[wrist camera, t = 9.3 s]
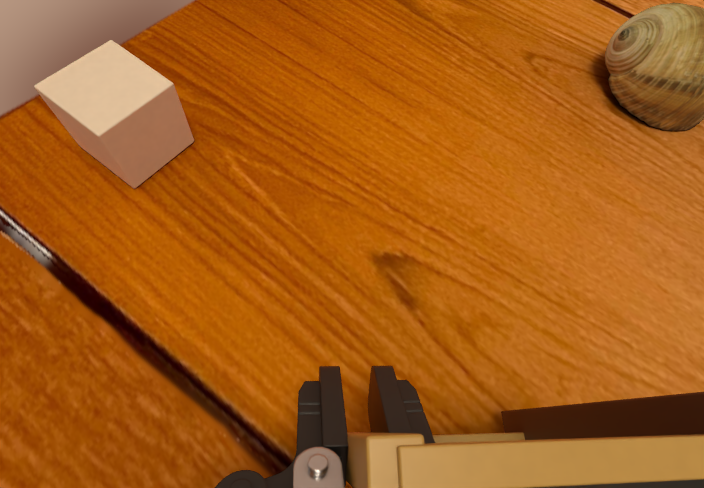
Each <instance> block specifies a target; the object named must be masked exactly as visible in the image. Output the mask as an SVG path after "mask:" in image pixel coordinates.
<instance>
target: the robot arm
mask: <svg viewBox="0 0 704 488" xmlns="http://www.w3.org/2000/svg"><path fill="white" fill-rule="evenodd" d="M368 415H369V422H370V427H371V432H373V433H414V434H421V435H423V437H424V443H425V444H429V443H435V441H434V438H433V435H432V433H431V430H430V427H429V424H428V422H427V419H426V416H425V413H424V412H423V408H422V405H421V403H420V399H419V397H418V394H417V391H416V389H415V388H414V387H413V386H412V385H411V384H410V383H409V382H408V381H407V380H397V379H396V376H395V372H394V369H393V367H392V366H372V368H371V375H370V386H369V396H368ZM347 437H348V435H347V426H346V418H345V409H344V400H343V391H342V383H341V374H340V367H339V366H320V367H319V381H305V382H304V384H303V385H302V387H301V389H300V390H299V396H298V425H297V451H296V456H295V458H294V460H293V462H292V463H291V465H290V466H289V467H288V468H287V469H285V470H284V471H282V472H281V473H279V474H276V475H274V476H271V477H268V478H265V479H264V478H263V477H262V476H261V475H260V474H259V473H257V472H254V471H250V470H241V471H237V472H234V473H232V474H230V475H228V476H226V477H225V478H224V479H223V480H222V481H221V482H220V483H219V484H218V485H217V486H216V487H215V488H345V485H346V468H347V455H348V439H347ZM539 488H541V487H539Z"/></svg>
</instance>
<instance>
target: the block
mask: <svg viewBox="0 0 704 488" xmlns="http://www.w3.org/2000/svg"><path fill="white" fill-rule="evenodd" d="M34 88H35V89H36V90H37V92H38V93H39V94H40V96H41V97H42V98H43V100H44V101H45V102H46V103H47V105H48V106H49V107H50V109H51V110H52V111H53V112H54V114H55V115H56V116H57V118H58V119H59V120H60V121H61V123H62V124H63V125H64V127H65V128H66V129H67V130H68V132H69V133H70V134H71V136H72V137H73V138H74V140H75V141H76V142H77V143H78V145H79V146H80V147H81V148H83V149H84V150H85V151H86V152H88V153H89V154H90V155H92V156H93V157H94V158H95V159H97V160H98V161H99V162H101V163H102V164H103V165H104V166H106V167H107V168H108V169H109V170H111V171H112V172H113V173H115V174H116V175H117V176H118V177H120V178H121V179H122V180H123V181H125V182H126V183H127V184H129V185H130V186H131V187H132V188H134V189H135V188H136V187H138V186H139V185H140V184H141V183H143V182H144V181H145V180H146V179H148V178H149V177H150V176H151V175H153V174H154V173H155V172H156V171H158V170H159V169H160V168H161V167H163V166H164V165H165V164H166V163H168V162H169V161H170V160H172V159H173V158H174V157H175V156H177V155H178V154H179V153H180V152H182V151H183V150H184V149H185V148H187V147H188V146H189V145H190V144H192V143H193V142H194V139H193V136H192V133H191V130H190V128H189V125H188V122H187V119H186V117H185V114H184V111H183V109H182V106H181V103H180V100H179V98H178V95H177V92H176V89H175V87H174V84H173V83H172V82H171V81H169V80H168V79H166V78H165V77H163V76H162V75H161V74H159V73H158V72H156V71H155V70H154V69H152V68H151V67H149V66H148V65H146V64H145V63H144V62H142V61H141V60H139V59H138V58H137V57H135V56H134V55H132V54H131V53H129V52H128V51H127V50H125V49H124V48H122V47H121V46H120V45H118V44H117V43H115V42H114V41H112V40H110V41H108V42H107V43H105V44H103V45H102V46H100V47H98V48H97V49H95V50H93V51H91V52H90V53H88V54H86V55H85V56H83V57H81V58H80V59H78V60H76V61H75V62H73V63H72V64H70V65H68V66H66V67H65V68H63V69H61V70H59V71H58V72H56V73H55V74H53V75H51V76H49V77H48V78H46V79H45V80H43V81H41V82H40V83H38V84H36V85H35V86H34Z"/></svg>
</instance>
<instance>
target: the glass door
mask: <svg viewBox="0 0 704 488" xmlns="http://www.w3.org/2000/svg"><path fill="white" fill-rule="evenodd" d="M501 413H502V419H503V425H504V431H505V433H482V434H450V435H433V438H434V441H435V443H429V444H425V443H424V437H423V435H421V434H414V433H373V432H347V435H348V437H347V439H348V455H347V468H346V481H347V482H348V483H349V484H350V485H351V486H352V487H353V488H539V487H541V488H704V392H697V393H686V394H676V395H666V396H655V397H645V398H634V399H624V400H614V401H603V402H593V403H583V404H572V405H562V406H552V407H541V408H531V409H520V410H510V411H502V412H501Z"/></svg>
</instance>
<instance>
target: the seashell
mask: <svg viewBox="0 0 704 488" xmlns="http://www.w3.org/2000/svg"><path fill="white" fill-rule="evenodd" d="M605 64H606V66H607V69H608V71H609V73H610V77H609V79H608V81H609V86H610V89H611V92H612V94H613V95H614V96H615V97H616V98H617V100H618V102H620V106H622V107H624V108H626V109H627V110H628V111H629V113H631V114H632V115H634V116H636V117H638V118H639V119H640V120H642V121H645V122H646V123H647V124H648V125H649V126H653V127H655V128H660V129H662V130H670V131H673V130H676V131H678V130H684V131H685V130H689V129H691V128H692V127H695V126H696V125H697V124H699V123H700V121H702V120H703V119H704V9H703V8H701V7H697V6H692V5H687V4H681V3H670V4H661V5H657V6H654V7H651V8H648V9H646V10H644V11H642V12H640V13H638V14H636V15H635V16H633V17H632V18H630V19H629V20H628V21H626V22H625V23H624V24H623V25H622V26H621V27H620V28H619V29H618V30H617V31H616V32H615V34H614V35H613V36H612V38H611V39H610V42H609V44H608V46H607V48H606V52H605Z"/></svg>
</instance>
